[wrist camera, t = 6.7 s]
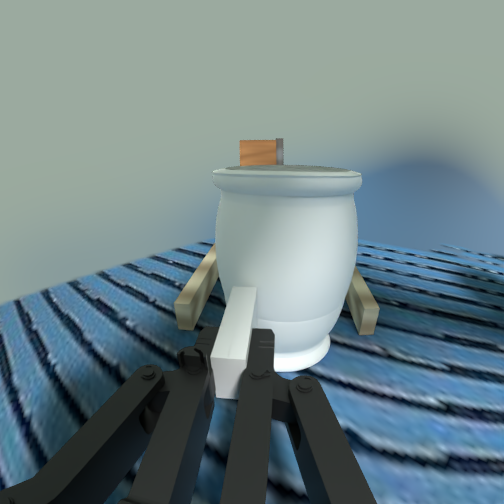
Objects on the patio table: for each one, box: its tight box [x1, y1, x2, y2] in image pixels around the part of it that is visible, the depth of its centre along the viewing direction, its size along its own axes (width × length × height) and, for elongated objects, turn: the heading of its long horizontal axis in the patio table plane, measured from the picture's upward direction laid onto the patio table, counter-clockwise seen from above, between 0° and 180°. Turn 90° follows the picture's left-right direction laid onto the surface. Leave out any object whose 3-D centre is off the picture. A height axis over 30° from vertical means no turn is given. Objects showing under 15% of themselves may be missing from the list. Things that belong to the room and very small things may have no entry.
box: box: [174, 139, 380, 335], centre depth 30 cm, size 18×19×18 cm
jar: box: [212, 165, 362, 372], centre depth 21 cm, size 11×10×15 cm
